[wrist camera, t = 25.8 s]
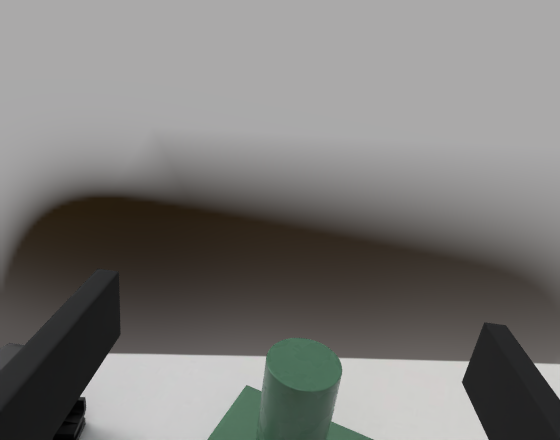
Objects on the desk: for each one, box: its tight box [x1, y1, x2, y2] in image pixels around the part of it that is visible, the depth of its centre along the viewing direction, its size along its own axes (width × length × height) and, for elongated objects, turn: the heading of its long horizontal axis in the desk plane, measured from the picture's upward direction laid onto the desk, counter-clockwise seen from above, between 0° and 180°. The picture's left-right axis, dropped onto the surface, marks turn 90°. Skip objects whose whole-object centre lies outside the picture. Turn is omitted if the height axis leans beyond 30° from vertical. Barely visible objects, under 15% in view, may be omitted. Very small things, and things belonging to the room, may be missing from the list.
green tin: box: [256, 338, 342, 440], centre depth 35 cm, size 6×6×13 cm
